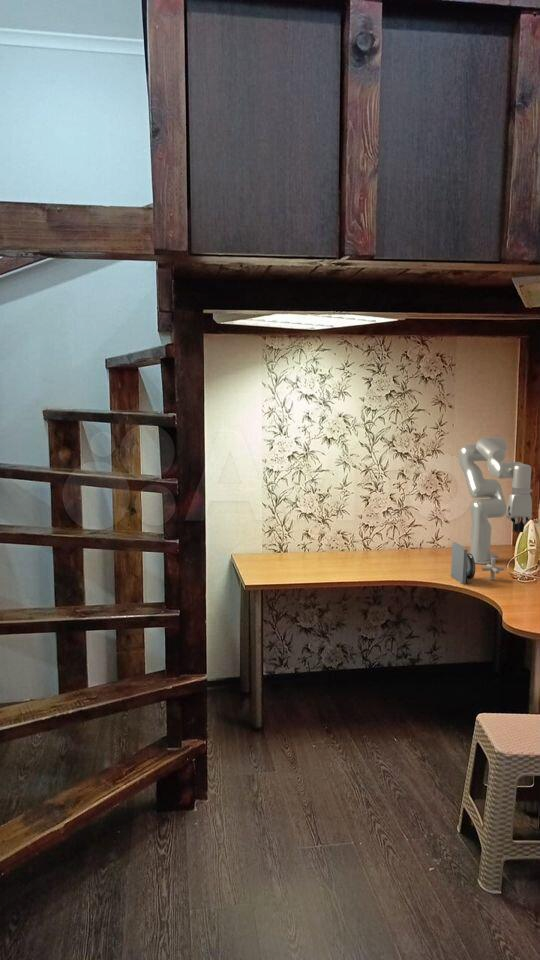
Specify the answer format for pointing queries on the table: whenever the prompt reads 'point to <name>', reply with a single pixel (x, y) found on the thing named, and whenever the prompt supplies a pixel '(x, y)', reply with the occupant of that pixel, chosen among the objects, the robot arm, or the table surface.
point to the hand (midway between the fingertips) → (518, 531)
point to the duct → (470, 566)
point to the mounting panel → (459, 563)
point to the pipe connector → (492, 568)
